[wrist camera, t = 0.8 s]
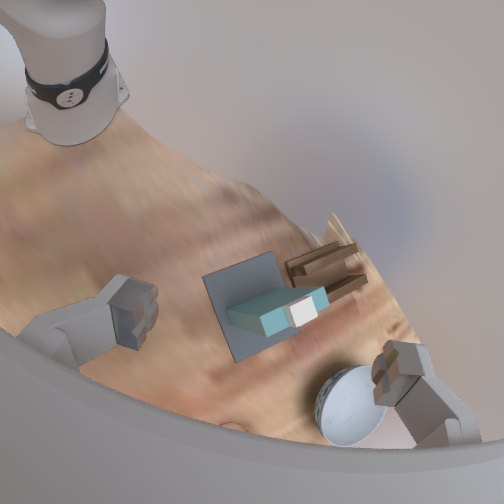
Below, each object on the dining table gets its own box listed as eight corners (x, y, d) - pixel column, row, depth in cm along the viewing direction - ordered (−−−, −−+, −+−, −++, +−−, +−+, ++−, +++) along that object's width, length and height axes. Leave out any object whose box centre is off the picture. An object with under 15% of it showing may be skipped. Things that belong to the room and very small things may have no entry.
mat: (202, 277, 44) (202, 277, 44) (271, 251, 49) (272, 250, 48) (235, 362, 44) (236, 363, 44) (299, 330, 49) (300, 331, 48)
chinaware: (280, 411, 46) (303, 427, 39) (330, 342, 51) (359, 348, 44) (331, 442, 49) (356, 457, 41) (373, 381, 54) (400, 389, 46)
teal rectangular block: (225, 310, 44) (265, 317, 31) (276, 288, 48) (331, 285, 34) (231, 325, 44) (273, 339, 31) (282, 302, 48) (337, 305, 34)
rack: (284, 262, 49) (301, 259, 44) (334, 242, 53) (353, 237, 48) (302, 313, 49) (320, 315, 44) (349, 288, 53) (369, 287, 48)
